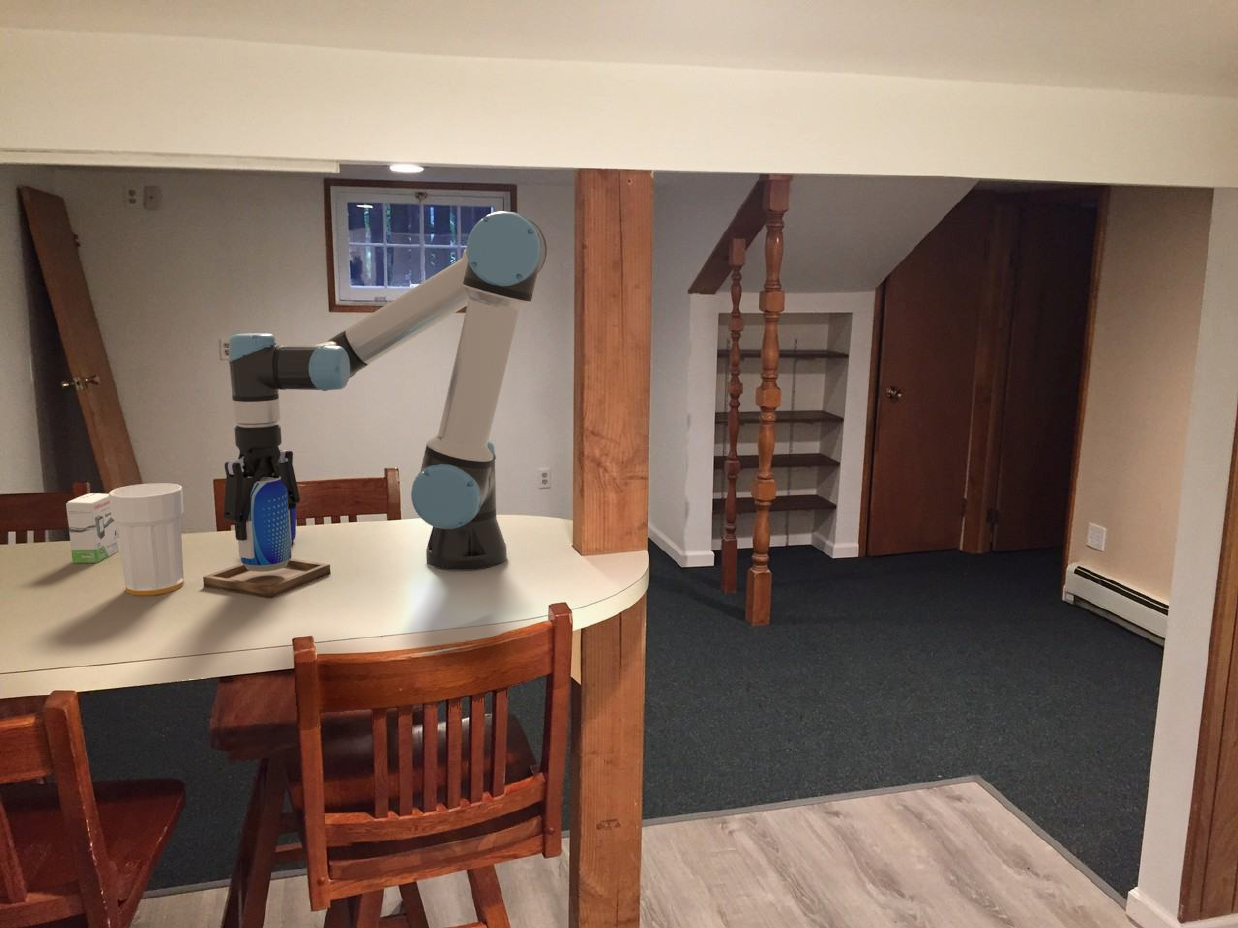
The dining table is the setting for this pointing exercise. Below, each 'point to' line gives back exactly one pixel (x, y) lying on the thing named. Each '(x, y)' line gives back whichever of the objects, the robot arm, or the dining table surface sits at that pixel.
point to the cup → (149, 536)
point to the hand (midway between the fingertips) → (266, 550)
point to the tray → (267, 578)
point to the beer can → (269, 526)
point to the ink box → (91, 528)
